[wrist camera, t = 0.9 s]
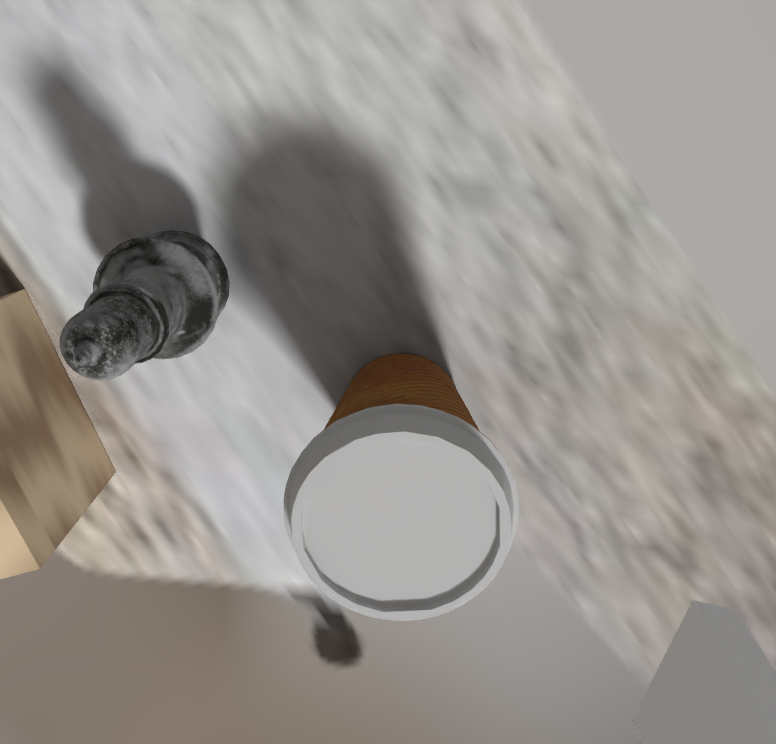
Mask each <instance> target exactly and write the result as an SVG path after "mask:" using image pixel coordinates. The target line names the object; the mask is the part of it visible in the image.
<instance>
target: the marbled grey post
mask: <svg viewBox="0 0 776 744" xmlns="http://www.w3.org/2000/svg"><path fill="white" fill-rule="evenodd" d="M228 296H229V278H228V273H227V269H226V267H225V265H224V263H223V261H222V259H221V257H220V256H219V255H218V253H217V252H216V251H215V250H214V249H213V248H212V246H210V245H209V244H208V243H206V242H205V241H203V240H202V239H201V238H199V237H197V236H194V235H192V234H189V233H187V232H180V231H166V232H159V233H157V234H154V235H152V236H150V237H143V238H135V239H131V240H129V241H127V242H124V243H122V244H120V245H118V246H116V247H115V248H114V249H113V250H112V251H110V252H109V253H108V254H107V255H106V256H105V257H104V259H103V260H102V262H101V264H100V265H99V267H98V268H97V272H96V275H95V279H94V283H93V293H92V294H91V295H90V297H89V298H88V300H87V301H86V303H85V306H84V309H83V310H82V311H80V312H79V313H77V314H76V315H75V316H73V317H72V318H71V319H70V320H69V321H68V322H67V324H66V325H65V327H64V328H63V330H62V333H61V337H60V349H61V352H62V355H63V357H64V359H65V361H66V362H67V364H68V365H69V366H70V367H71V368H72V369H73V370H74V371H75V372H77V373H78V374H80V375H82V376H84V377H86V378H89V379H93V380H109V379H112V378H115V377H117V376H120V375H122V374H123V373H125V372H126V371H127V370H129V369H130V368H131V367H132V366H133V365H134V364H136V363H142V362H145V361H147V360H150V359H152V358H157V359H169V358H178V357H181V356H183V355H186V354H188V353H191V352H193V351H194V350H195V349H196V348H198V347H199V346H200V345H202V344H203V343H204V342H205V341H206V339H207V338H208V336H209V335H210V334H211V332H212V331H213V329H214V326H215V323H216V320H217V317H218V316H219V315H220V313H221V312H222V310H223V309H224V308H225V305H226V302H227V299H228Z"/></svg>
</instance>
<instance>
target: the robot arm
mask: <svg viewBox="0 0 776 744" xmlns="http://www.w3.org/2000/svg"><path fill="white" fill-rule="evenodd" d="M632 721H633V723H634V726H635V729H636V732H637V735H638V737H639V740H640V743H641V744H776V672H775V670H774V669H773V667H772V665H771V664H770V662H769V661H768V659H767V657H766V656H765V654H764V653H763V651H762V649H761V648H760V646H759V645H758V643H757V642H756V640H755V638H754V637H753V635H752V634H751V632H750V630H749V629H748V627H747V626H746V624H745V623H744V621H743V619H742V618H741V616H740V615H739V613H738V611H737V610H736V609H731V608H727V607H722V606H717V605H712V604H708V603H703V602H698V601H694V600H693V601H692V603H691V605H690V607H689V609H688V611H687V613H686V615H685V617H684V619H683V621H682V623H681V624H680V626H679V628H678V630H677V632H676V634H675V636H674V638H673V640H672V642H671V644H670V646H669V648H668V650H667V652H666V654H665V656H664V658H663V660H662V662H661V664H660V666H659V668H658V670H657V672H656V674H655V676H654V678H653V680H652V682H651V684H650V686H649V688H648V690H647V692H646V694H645V696H644V698H643V700H642V702H641V704H640V706H639V708H638V709H637V711H636V714H635V715H634V717H633V720H632Z"/></svg>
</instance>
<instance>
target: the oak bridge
mask: <svg viewBox="0 0 776 744" xmlns="http://www.w3.org/2000/svg"><path fill="white" fill-rule="evenodd" d="M115 472H116V471H115V469H114V467H113V465H112V463H111V461H110V459H109V457H108V455H107V453H106V451H105V449H104V447H103V445H102V443H101V441H100V439H99V437H98V435H97V433H96V431H95V429H94V427H93V425H92V423H91V421H90V419H89V417H88V415H87V413H86V411H85V409H84V407H83V405H82V403H81V401H80V399H79V397H78V395H77V393H76V391H75V389H74V387H73V385H72V383H71V381H70V379H69V377H68V375H67V373H66V371H65V369H64V367H63V365H62V363H61V361H60V359H59V357H58V355H57V353H56V351H55V349H54V347H53V345H52V343H51V341H50V338H49V336H48V334H47V332H46V330H45V328H44V326H43V324H42V322H41V320H40V318H39V316H38V314H37V312H36V310H35V308H34V306H33V304H32V302H31V300H30V298H29V296H28V294H27V292H26V290H25V289H22V290H19V291H16V292H13V293H10V294H6V295H4V296H1V297H0V579H3V578H6V577H11V576H14V575H18V574H22V573H26V572H29V571H33V570H38V569H40V568H41V567H42V566H43V564H44V563H45V562H46V561H47V559H48V558H49V557H50V555H51V554H52V553H53V552H54V550H55V549H56V548H57V547H58V545H59V544H60V543H61V541H62V540H63V539H64V538H65V536H66V535H67V534H68V533H69V531H70V530H71V529H72V527H73V526H74V525H75V524H76V522H77V521H78V520H79V518H80V517H81V516H82V515H83V513H84V512H85V511H86V510H87V508H88V507H89V506H90V504H91V503H92V502H93V501H94V499H95V498H96V497H97V495H98V494H99V493H100V492H101V490H102V489H103V488H104V487H105V485H106V484H107V483H108V481H109V480H110V479H111V478H112V476H113V475H114V474H115Z"/></svg>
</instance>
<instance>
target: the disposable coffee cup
mask: <svg viewBox="0 0 776 744" xmlns="http://www.w3.org/2000/svg"><path fill="white" fill-rule="evenodd" d="M284 520H285V525H286V529H287V533H288V537H289V539H290V541H291V544H292V546H293V548H294V550H295V552H296V554H297V556H298V559H299V562H300V564H301V565H302V567H303V569H304V570H305V572H306V573H307V575H308V576H309V578H310V579H311V580H312V581H313V582H314V583H315V584H316V585H317V586H318V588H319V589H320V590H321V591H322V592H323V593H324V594H326V595H327V596H329V597H330V598H331V599H333V600H334V601H336V602H337V603H339V604H340V605H342V606H344V607H346V608H348V609H350V610H352V611H355V612H358V613H361V614H364V615H367V616H370V617H375V618H380V619H386V620H402V621H406V620H418V619H425V618H429V617H433V616H438V615H441V614H443V613H446V612H448V611H451V610H453V609H456V608H458V607H460V606H461V605H463V604H464V603H466V602H467V601H469V600H470V599H472V598H473V597H474V596H475V595H477V594H478V593H480V592H481V591H482V590H484V589H485V588H486V586H487V585H488V584H489V583H490V582H491V581H492V579H493V578H494V577H495V576H496V574H497V572H498V571H499V569H500V567H501V566H502V564H503V562H504V560H505V557H506V555H507V553H508V551H509V549H510V547H511V544H512V542H513V539H514V537H515V534H516V531H517V526H518V520H519V497H518V492H517V488H516V483H515V480H514V477H513V475H512V473H511V470H510V468H509V466H508V463H507V461H506V460H505V459H504V457H503V456H502V455H501V454H500V452H499V451H498V450H497V448H496V447H495V446H494V444H493V443H492V442H491V440H490V439H488V438H487V437H486V436H485V435H484V434H482V433H481V432H480V431H479V429H478V427H477V425H476V424H475V422H474V420H473V419H472V416H471V415H470V413H469V411H468V409H467V407H466V406H465V404H464V402H463V400H462V398H461V396H460V395H459V393H458V391H457V389H456V387H455V385H454V383H453V381H452V380H451V378H450V377H449V376H448V374H447V373H446V372H445V371H444V370H443V369H442V368H441V367H439V366H438V365H436V364H435V363H434V362H432V361H430V360H428V359H426V358H424V357H420V356H417V355H413V354H405V353H401V354H392V355H386V356H383V357H380V358H377V359H375V360H374V361H372V362H370V363H368V364H367V365H366V366H364V367H363V368H362V369H361V370H360V371H359V372H358V373H357V374H356V375H355V376H354V378H353V379H352V381H351V383H350V384H349V386H348V388H347V390H346V392H345V393H344V395H343V397H342V399H341V400H340V402H339V404H338V405H337V407H336V409H335V411H334V413H333V415H332V416H331V418H330V420H329V422H328V423H327V425H326V427H325V429H324V430H323V431H322V432H321V433H319V434H318V435H317V436H316V437H314V438H313V440H312V441H311V442H310V443H309V444H308V445H307V447H306V448H305V449H304V450H303V451H302V453H301V454H300V456H299V458H298V459H297V461H296V463H295V464H294V466H293V468H292V470H291V472H290V475H289V478H288V481H287V484H286V489H285V495H284Z"/></svg>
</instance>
